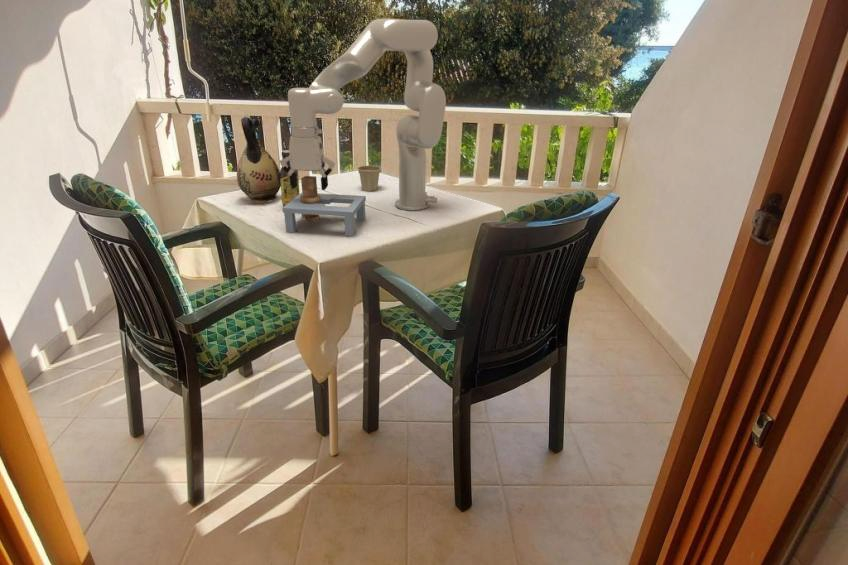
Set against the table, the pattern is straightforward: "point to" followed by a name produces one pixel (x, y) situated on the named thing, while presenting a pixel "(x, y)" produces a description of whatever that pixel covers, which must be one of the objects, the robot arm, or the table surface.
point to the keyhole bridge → (327, 210)
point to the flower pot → (369, 177)
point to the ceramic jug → (257, 167)
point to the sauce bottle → (287, 183)
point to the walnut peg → (310, 195)
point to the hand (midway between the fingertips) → (309, 188)
